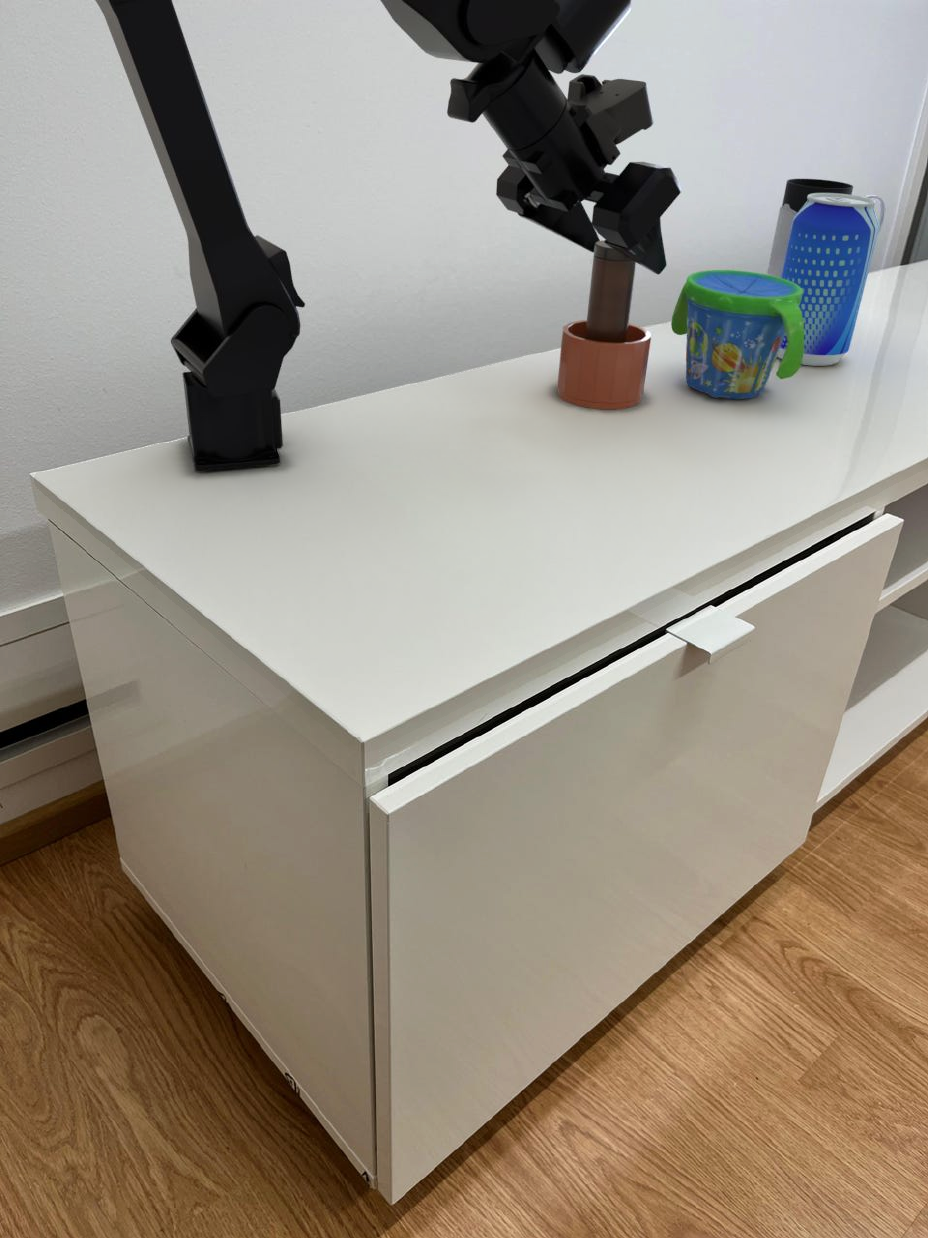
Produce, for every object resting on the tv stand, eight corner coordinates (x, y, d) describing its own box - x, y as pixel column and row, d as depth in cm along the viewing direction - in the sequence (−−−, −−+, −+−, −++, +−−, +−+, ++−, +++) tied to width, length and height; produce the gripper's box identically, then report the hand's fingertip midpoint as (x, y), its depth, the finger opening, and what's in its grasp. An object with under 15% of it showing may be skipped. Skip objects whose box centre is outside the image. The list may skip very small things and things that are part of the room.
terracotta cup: (577, 412, 88) (584, 346, 85) (544, 383, 95) (549, 321, 92) (656, 406, 91) (666, 341, 88) (618, 378, 97) (626, 317, 94)
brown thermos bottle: (608, 398, 90) (626, 250, 83) (572, 389, 92) (587, 243, 85) (626, 388, 93) (645, 244, 86) (591, 379, 95) (607, 238, 88)
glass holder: (742, 305, 124) (767, 177, 117) (839, 302, 128) (869, 177, 120) (779, 324, 117) (808, 189, 109) (880, 320, 121) (915, 189, 113)
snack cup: (820, 410, 92) (847, 299, 86) (727, 422, 88) (749, 307, 82) (721, 361, 104) (740, 261, 98) (636, 369, 100) (650, 265, 95)
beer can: (854, 354, 108) (894, 198, 99) (834, 373, 102) (875, 208, 93) (779, 340, 111) (811, 188, 103) (755, 357, 105) (787, 197, 97)
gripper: (681, 43, 69) (763, 204, 80) (534, 33, 82) (621, 171, 93) (579, 169, 70) (674, 311, 80) (450, 138, 83) (546, 263, 94)
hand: (628, 258), depth 87 cm, fingers open, 9 cm apart
